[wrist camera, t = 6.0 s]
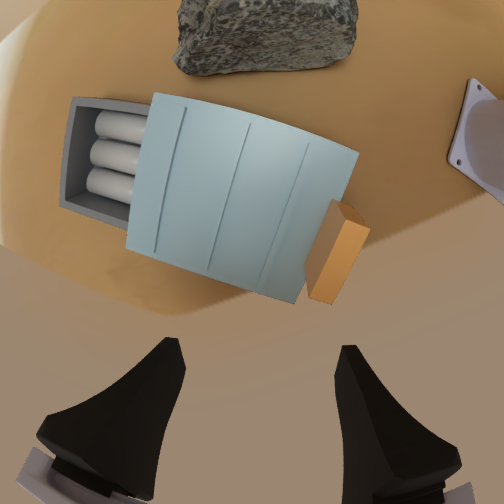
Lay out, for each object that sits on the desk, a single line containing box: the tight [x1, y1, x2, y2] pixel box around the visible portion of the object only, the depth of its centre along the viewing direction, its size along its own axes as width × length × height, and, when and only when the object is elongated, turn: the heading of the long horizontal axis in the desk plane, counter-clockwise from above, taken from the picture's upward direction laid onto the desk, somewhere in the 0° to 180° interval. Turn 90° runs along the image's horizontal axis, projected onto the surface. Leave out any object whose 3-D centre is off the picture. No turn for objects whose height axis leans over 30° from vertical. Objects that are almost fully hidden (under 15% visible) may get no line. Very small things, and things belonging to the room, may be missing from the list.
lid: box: [126, 92, 370, 305], centre depth 13 cm, size 12×10×4 cm
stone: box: [172, 0, 358, 76], centre depth 11 cm, size 10×10×10 cm
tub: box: [59, 97, 151, 230], centre depth 17 cm, size 10×8×4 cm
